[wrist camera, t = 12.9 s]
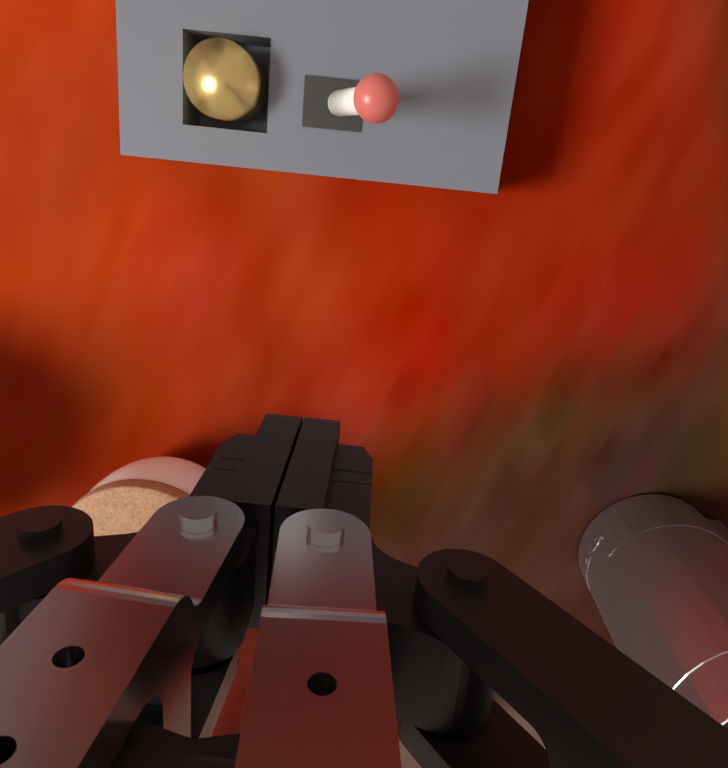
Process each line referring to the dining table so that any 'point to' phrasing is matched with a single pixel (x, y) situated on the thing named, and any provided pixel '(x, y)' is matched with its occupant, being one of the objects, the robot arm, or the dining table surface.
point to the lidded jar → (138, 493)
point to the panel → (330, 86)
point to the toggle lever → (367, 99)
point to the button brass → (224, 80)
